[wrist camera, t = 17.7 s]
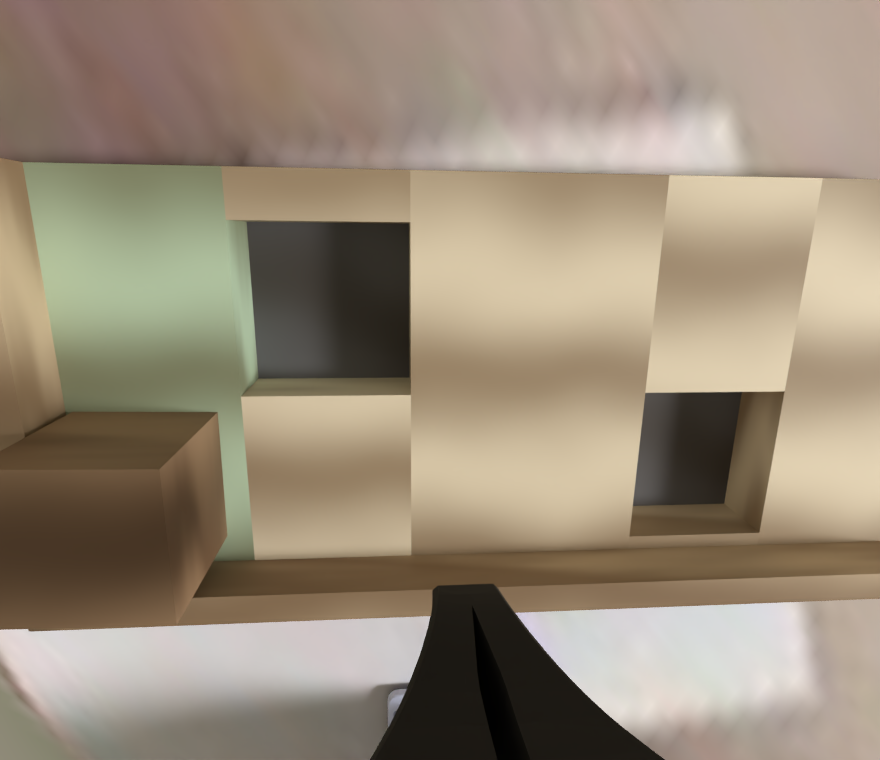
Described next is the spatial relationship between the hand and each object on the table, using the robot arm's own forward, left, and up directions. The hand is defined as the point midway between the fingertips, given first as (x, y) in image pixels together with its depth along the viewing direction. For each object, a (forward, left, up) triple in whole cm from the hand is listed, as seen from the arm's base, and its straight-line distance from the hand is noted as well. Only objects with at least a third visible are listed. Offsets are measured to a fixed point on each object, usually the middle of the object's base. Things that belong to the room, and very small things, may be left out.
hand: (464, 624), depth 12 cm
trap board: (+3, -2, -10) cm, 11 cm away
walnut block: (0, +10, -7) cm, 12 cm away
